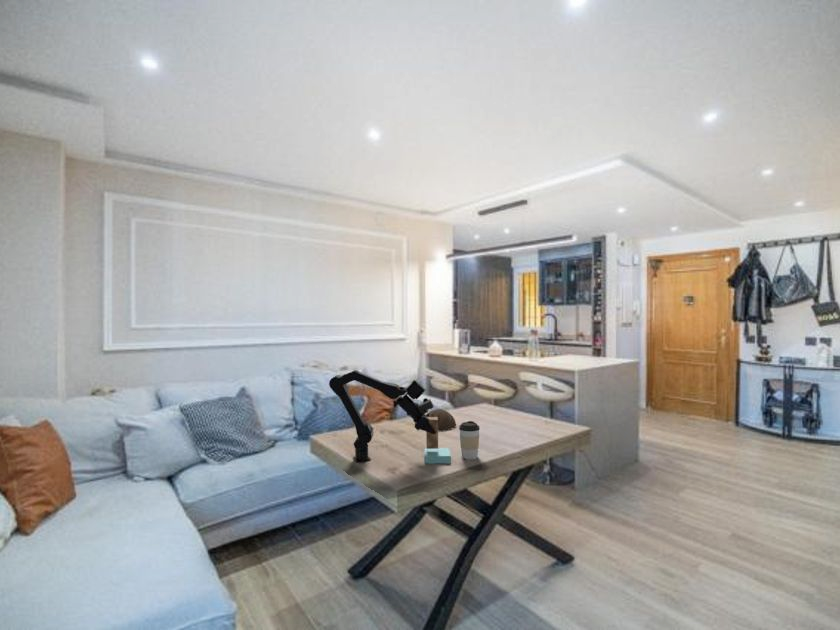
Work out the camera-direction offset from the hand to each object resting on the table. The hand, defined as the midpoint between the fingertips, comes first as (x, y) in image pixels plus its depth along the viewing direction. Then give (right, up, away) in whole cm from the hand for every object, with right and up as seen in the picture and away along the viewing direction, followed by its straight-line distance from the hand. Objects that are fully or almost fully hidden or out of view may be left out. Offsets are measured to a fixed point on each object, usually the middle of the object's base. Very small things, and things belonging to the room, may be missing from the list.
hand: (435, 431), depth 182 cm
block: (-1, -7, 0) cm, 7 cm away
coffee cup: (+15, -12, +2) cm, 19 cm away
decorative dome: (+4, -12, +54) cm, 56 cm away
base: (+1, -12, 0) cm, 12 cm away
